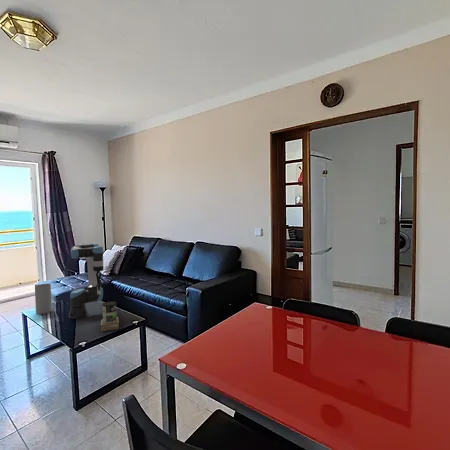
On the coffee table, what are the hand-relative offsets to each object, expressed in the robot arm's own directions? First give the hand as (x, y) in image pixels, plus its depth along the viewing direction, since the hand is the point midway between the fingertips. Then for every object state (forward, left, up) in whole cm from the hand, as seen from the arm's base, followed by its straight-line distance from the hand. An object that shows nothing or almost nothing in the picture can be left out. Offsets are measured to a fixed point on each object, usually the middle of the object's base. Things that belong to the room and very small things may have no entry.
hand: (99, 291), depth 232 cm
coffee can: (+5, +7, -23) cm, 25 cm away
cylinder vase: (-58, -50, -29) cm, 81 cm away
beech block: (+5, +7, -28) cm, 30 cm away
